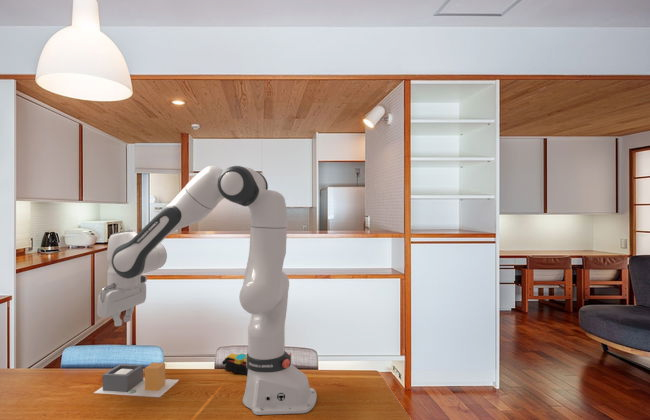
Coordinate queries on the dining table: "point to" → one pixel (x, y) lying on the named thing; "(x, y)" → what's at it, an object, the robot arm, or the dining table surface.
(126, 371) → the button
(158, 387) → the orange rectangular block
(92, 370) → the dining table surface
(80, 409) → the dining table surface
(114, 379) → the breaker panel
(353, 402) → the dining table surface
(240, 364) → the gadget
